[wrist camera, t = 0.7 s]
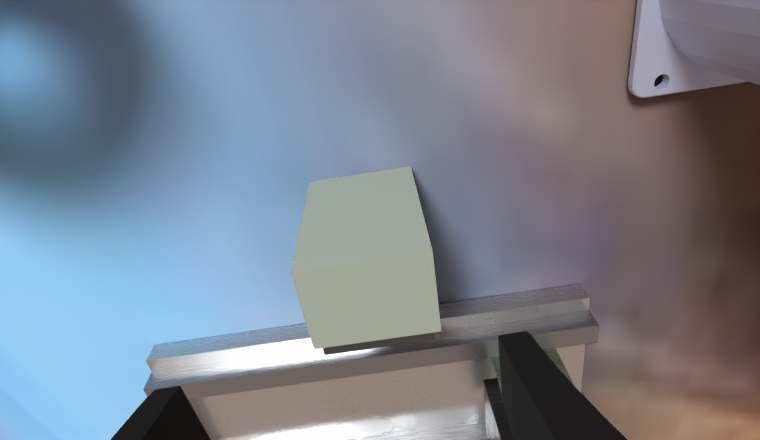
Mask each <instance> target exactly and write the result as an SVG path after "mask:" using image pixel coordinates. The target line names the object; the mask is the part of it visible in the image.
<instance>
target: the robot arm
mask: <svg viewBox="0 0 760 440" xmlns="http://www.w3.org/2000/svg"><path fill="white" fill-rule="evenodd" d="M662 74H663V80H662V82H661V83H660V84H659V85H658V86H655V87H654V82H655V79H656V78H657V77H658V76H659V75H662ZM743 82H751V83H754V84H757V85H760V0H637V9H636V18H635V26H634V35H633V44H632V53H631V61H630V70H629V79H628V89H629V91H630V93H631V94H633V95H635V96H637V97H639V98H647V97H654V96H660V95H667V94H673V93H679V92H686V91H692V90H698V89H705V88H711V87H718V86H724V85H730V84H737V83H743ZM498 345H499V360H500V375H501V390H502V400H503V403H504V407H505V411H506V414H507V418H508V422H509V425H510V429H511V432H512V436H513V439H514V440H627V439H626V438H625V437H624V436H623V435H622V434H621V433H620V432H619V431H618V430H617V429H616V428H615V427H614V426H613V425H612V424H611V423H610V422H609V421H608V420H607V419H606V418H605V417H604V416H603V415H602V414H601V413H600V412H599V411H598V410H597V409H596V408H595V407H594V406H593V405H592V404H591V403H590V402H589V401H588V400H587V399H586V398H585V397H584V396H583V395H582V394H581V393H580V392H579V390H578V389H577V388H576V387H575V386H574V385H573V384H572V383H571V382H570V381H569V380H568V378H567V377H566V376H565V375H564V374H563V373H562V372H561V370H560V369H559V368H558V367H557V366H556V365H555V364H554V362H553V361H552V360H551V359H550V358H549V356H548V355H547V354H546V353H545V352H544V350H543V349H542V348H541V347H540V345H539V344H538V343H537V342H536V340H535V339H534V338H533V336H532V335H531V334H530V333H528V332H527V331H523V332H516V333H510V334H504V335H498ZM111 440H211V439H210V438H209V436H208V434H207V432H206V431H205V429H204V427H203V425H202V424H201V422H200V420H199V418H198V416H197V415H196V413H195V411H194V409H193V408H192V406H191V404H190V402H189V401H188V399H187V397H186V395H185V393H184V392H183V390H182V388H181V386H175V387H168V388H162V389H156V390H154V391H153V392H152V393H151V394H150V395H149V396H148V397H147V398H146V399H145V400H144V402H143V403H142V404H141V405H140V406H139V407H138V408H137V410H136V411H135V412H134V413H133V414H132V415H131V417H130V418H129V419H128V420H127V421H126V422H125V424H124V425H123V426H122V427H121V428H120V429H119V431H118V432H117V433H116V434H115V435H114V436H113V438H112V439H111Z"/></svg>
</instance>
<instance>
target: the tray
mask: <svg viewBox="0 0 760 440" xmlns="http://www.w3.org/2000/svg"><path fill="white" fill-rule="evenodd" d="M589 303H590V297H589V296H588V294H587V293H586V291H585V290H584V288H583V287H582V285H581V284H576V285H569V286H562V287H555V288H548V289H541V290H534V291H527V292H520V293H513V294H506V295H499V296H492V297H486V298H479V299H472V300H465V301H458V302H451V303H444V304H439V314H440V323H441V331H440V332H434V333H435V340H429V341H422V342H415V343H408V344H400V345H393V346H386V347H379V348H372V349H365V350H358V351H351V352H344V353H336V354H329V355H324V351H323V348H320V349H314V348H313V345H312V342H311V338H310V335H309V332H308V328H307V325H306V323H304V324H297V325H290V326H283V327H276V328H269V329H262V330H255V331H248V332H241V333H234V334H227V335H221V336H214V337H207V338H200V339H193V340H186V341H179V342H172V343H165V344H158V345H154V347H153V349H152V351H151V352H150V354H149V356H148V358H147V360H146V362H147V364H148V365H149V367H150V369H151V371H152V373H151V375H150V377H149V379H148V381H147V383H146V385H145V387H144V389H143V390H144V391H145V393H146V395H147V396H149V395H150V394H151V393H152V392H153V391H154V390H156V389H162V388H168V387H175V386H181V388H182V390H183V392H184V393H185V395H186V397H187V399H188V401H189V402H190V404H191V406H192V408H193V409H194V411H195V413H196V415H197V416H198V418H199V420H200V422H201V424H202V425H203V427H204V429H205V431H206V432H207V434H208V436H209V438H210V439H211V440H514V439H513V436H512V432H511V429H510V425H509V422H508V418H507V414H506V411H505V407H504V403H503V400H502V390H501V375H500V360H499V345H498V335H504V334H510V333H516V332H523V331H527V332H528V333H530V334H531V335H532V336H533V338H534V339H535V340H536V342H537V343H538V344H539V345H540V347H541V348H542V349H543V350H544V352H545V353H546V354H547V355H548V356H549V358H550V359H551V360H552V361H553V362H554V364H555V365H556V366H557V367H558V368H559V369H560V370H561V372H562V373H563V374H564V375H565V376H566V377H567V378H568V380H569V381H570V382H571V383H572V384H573V385H574V386H575V387H576V388H577V389H578V390H579V392H580V393H581V386H582V375H583V365H584V355H585V344H591V343H597V338H598V329H599V325H598V323H597V322H596V320H595V319H594V317H593V316H592V314H591V313H590V311H589Z"/></svg>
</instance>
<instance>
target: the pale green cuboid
mask: <svg viewBox="0 0 760 440" xmlns="http://www.w3.org/2000/svg"><path fill="white" fill-rule="evenodd" d="M291 275H292V278H293V281H294V285H295V288H296V291H297V295H298V298H299V301H300V305H301V308H302V311H303V315H304V318H305V321H306V325H307V328H308V332H309V335H310V338H311V342H312V345H313V348H314V349H320V348H323V351H324V355H329V354H336V353H344V352H351V351H358V350H365V349H372V348H379V347H386V346H393V345H400V344H408V343H415V342H422V341H429V340H435V333H434V332H440V331H441V323H440V314H439V304H438V295H437V286H436V277H435V268H434V259H433V250H432V247H431V243H430V239H429V235H428V231H427V227H426V223H425V219H424V216H423V212H422V208H421V204H420V200H419V196H418V192H417V188H416V185H415V181H414V177H413V173H412V169H411V167H404V168H398V169H391V170H385V171H378V172H372V173H365V174H359V175H352V176H346V177H339V178H333V179H326V180H320V181H313V182H310V183H309V187H308V192H307V197H306V202H305V206H304V211H303V216H302V220H301V225H300V230H299V235H298V239H297V244H296V249H295V254H294V258H293V263H292V268H291Z"/></svg>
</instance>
